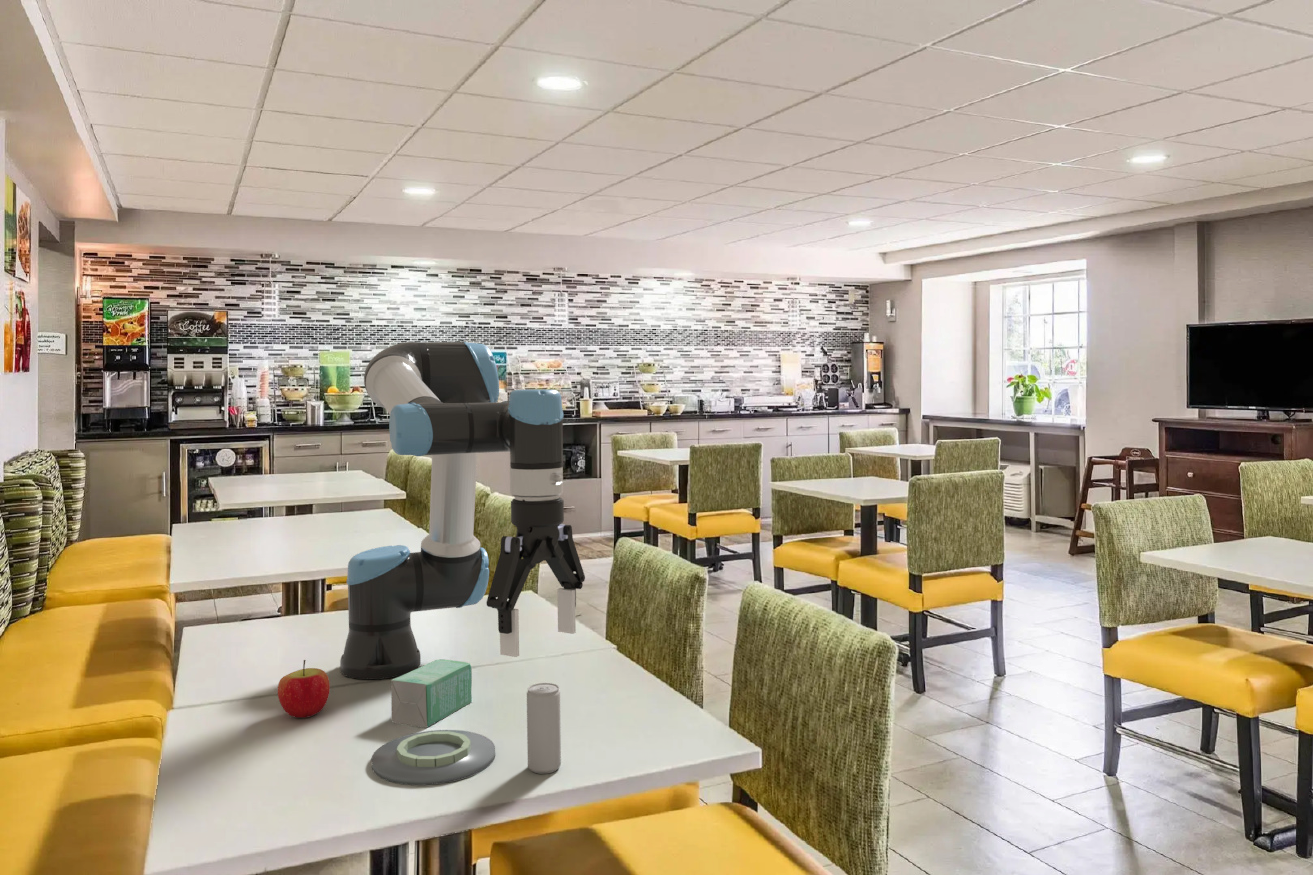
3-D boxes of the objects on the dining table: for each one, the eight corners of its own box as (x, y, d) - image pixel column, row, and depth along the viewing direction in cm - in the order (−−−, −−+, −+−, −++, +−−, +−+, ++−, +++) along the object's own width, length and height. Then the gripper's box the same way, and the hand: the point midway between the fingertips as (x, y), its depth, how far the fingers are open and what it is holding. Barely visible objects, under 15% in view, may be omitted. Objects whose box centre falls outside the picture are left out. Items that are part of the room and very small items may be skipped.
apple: (281, 727, 156) (279, 667, 155) (275, 711, 163) (274, 654, 162) (334, 719, 159) (332, 660, 159) (326, 703, 167) (324, 647, 166)
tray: (345, 768, 139) (344, 753, 139) (431, 728, 155) (431, 715, 155) (437, 795, 130) (437, 779, 130) (519, 749, 146) (519, 735, 146)
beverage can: (528, 762, 142) (527, 683, 141) (561, 760, 142) (560, 682, 141) (526, 775, 137) (525, 694, 136) (560, 774, 137) (559, 692, 136)
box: (473, 702, 168) (472, 660, 167) (427, 729, 155) (426, 684, 154) (438, 697, 170) (437, 656, 170) (390, 723, 158) (389, 679, 157)
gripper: (502, 509, 124) (505, 670, 125) (606, 489, 145) (608, 626, 147) (458, 505, 127) (461, 662, 129) (566, 486, 149) (568, 620, 150)
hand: (539, 643), depth 138 cm, fingers open, 13 cm apart
